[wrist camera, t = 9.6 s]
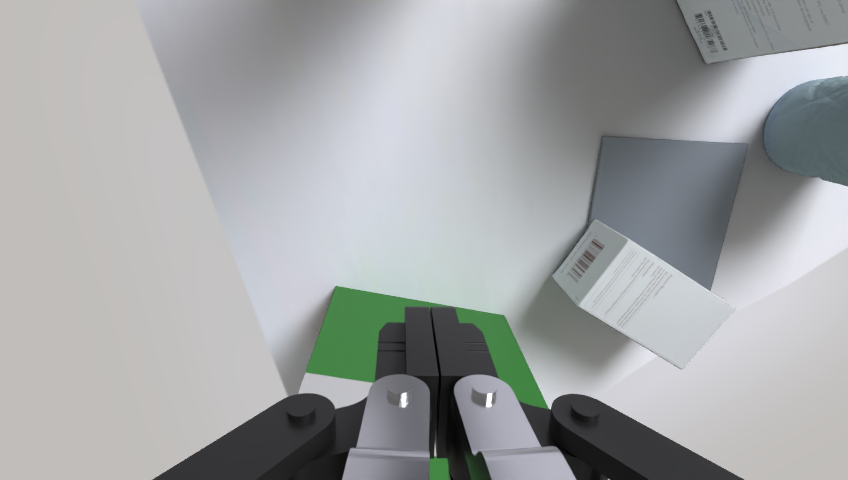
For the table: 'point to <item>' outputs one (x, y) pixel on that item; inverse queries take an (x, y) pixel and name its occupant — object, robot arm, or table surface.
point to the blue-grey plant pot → (811, 130)
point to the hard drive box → (764, 26)
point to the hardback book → (358, 342)
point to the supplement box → (641, 295)
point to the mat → (669, 198)
